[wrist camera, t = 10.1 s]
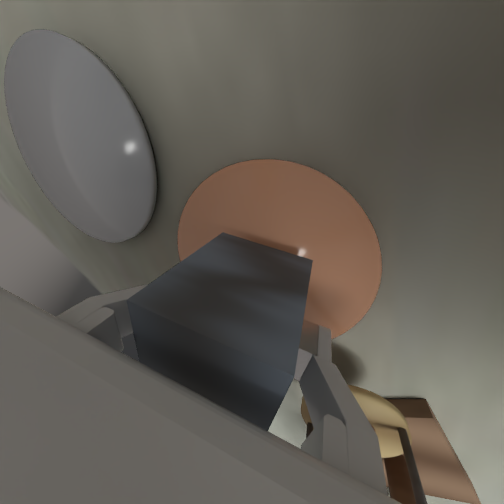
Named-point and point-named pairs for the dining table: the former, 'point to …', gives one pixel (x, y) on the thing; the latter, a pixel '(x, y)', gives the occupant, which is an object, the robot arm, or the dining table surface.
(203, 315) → the block
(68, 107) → the grey dish
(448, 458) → the balance
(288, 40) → the dining table surface
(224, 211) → the terracotta dish
